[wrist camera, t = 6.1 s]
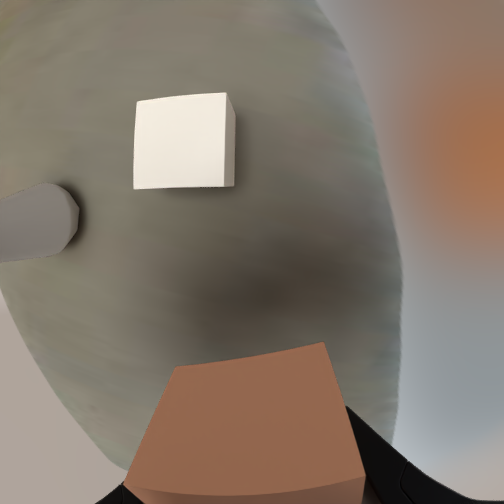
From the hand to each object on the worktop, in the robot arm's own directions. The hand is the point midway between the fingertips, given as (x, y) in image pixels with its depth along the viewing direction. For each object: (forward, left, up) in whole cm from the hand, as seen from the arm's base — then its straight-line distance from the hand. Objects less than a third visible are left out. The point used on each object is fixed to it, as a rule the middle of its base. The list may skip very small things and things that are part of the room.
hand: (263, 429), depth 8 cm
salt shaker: (+10, +15, -13) cm, 22 cm away
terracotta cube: (0, 0, -1) cm, 1 cm away
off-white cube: (+11, +2, -13) cm, 17 cm away
